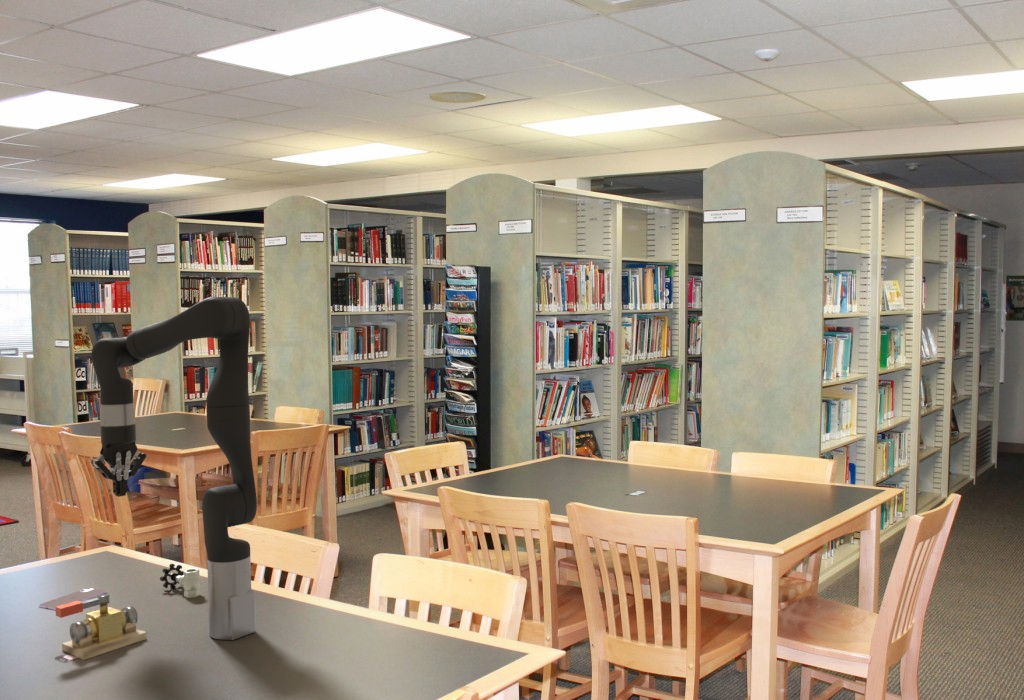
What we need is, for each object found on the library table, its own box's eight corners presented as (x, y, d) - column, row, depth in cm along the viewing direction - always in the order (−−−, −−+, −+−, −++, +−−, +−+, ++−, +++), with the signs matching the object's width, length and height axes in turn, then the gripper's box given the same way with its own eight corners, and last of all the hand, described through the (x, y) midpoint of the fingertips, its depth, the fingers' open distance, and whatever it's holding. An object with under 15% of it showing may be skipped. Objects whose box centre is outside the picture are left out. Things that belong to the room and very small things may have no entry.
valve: (208, 594, 224) (183, 585, 232) (207, 568, 224) (182, 560, 231) (184, 601, 219) (160, 591, 227) (183, 575, 219) (159, 566, 226)
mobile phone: (36, 604, 216) (88, 586, 229) (36, 608, 216) (88, 590, 229) (57, 608, 213) (109, 590, 226) (58, 612, 213) (109, 593, 226)
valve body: (139, 631, 194) (138, 597, 194) (81, 649, 184) (80, 614, 183) (126, 626, 197) (125, 593, 197) (68, 644, 187) (67, 610, 186)
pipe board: (146, 638, 194) (145, 622, 193) (84, 659, 182) (83, 642, 182) (124, 630, 199) (123, 614, 199) (62, 650, 188) (61, 633, 187)
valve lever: (106, 601, 192) (105, 592, 192) (111, 603, 190) (111, 594, 190) (55, 615, 183) (55, 606, 183) (61, 617, 182) (60, 608, 182)
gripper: (99, 427, 198) (101, 503, 199) (152, 420, 209) (155, 492, 210) (82, 424, 203) (84, 499, 203) (135, 418, 213) (138, 489, 214)
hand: (120, 495), depth 207 cm, fingers closed
